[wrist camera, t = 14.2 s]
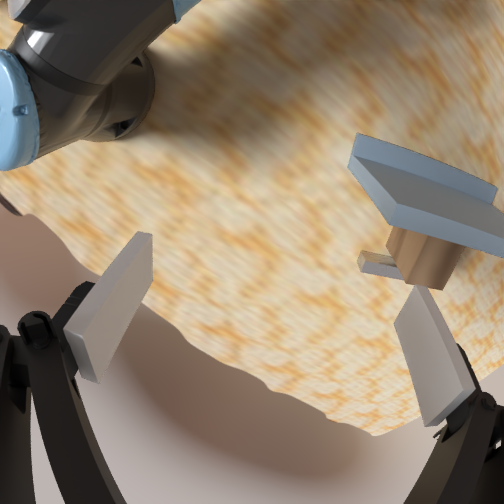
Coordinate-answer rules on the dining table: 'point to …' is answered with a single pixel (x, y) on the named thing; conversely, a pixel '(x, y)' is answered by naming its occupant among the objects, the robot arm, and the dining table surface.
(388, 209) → the wall board
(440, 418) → the robot arm
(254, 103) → the dining table surface
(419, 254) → the wooden box
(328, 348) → the dining table surface
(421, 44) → the dining table surface
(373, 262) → the cleat rail
